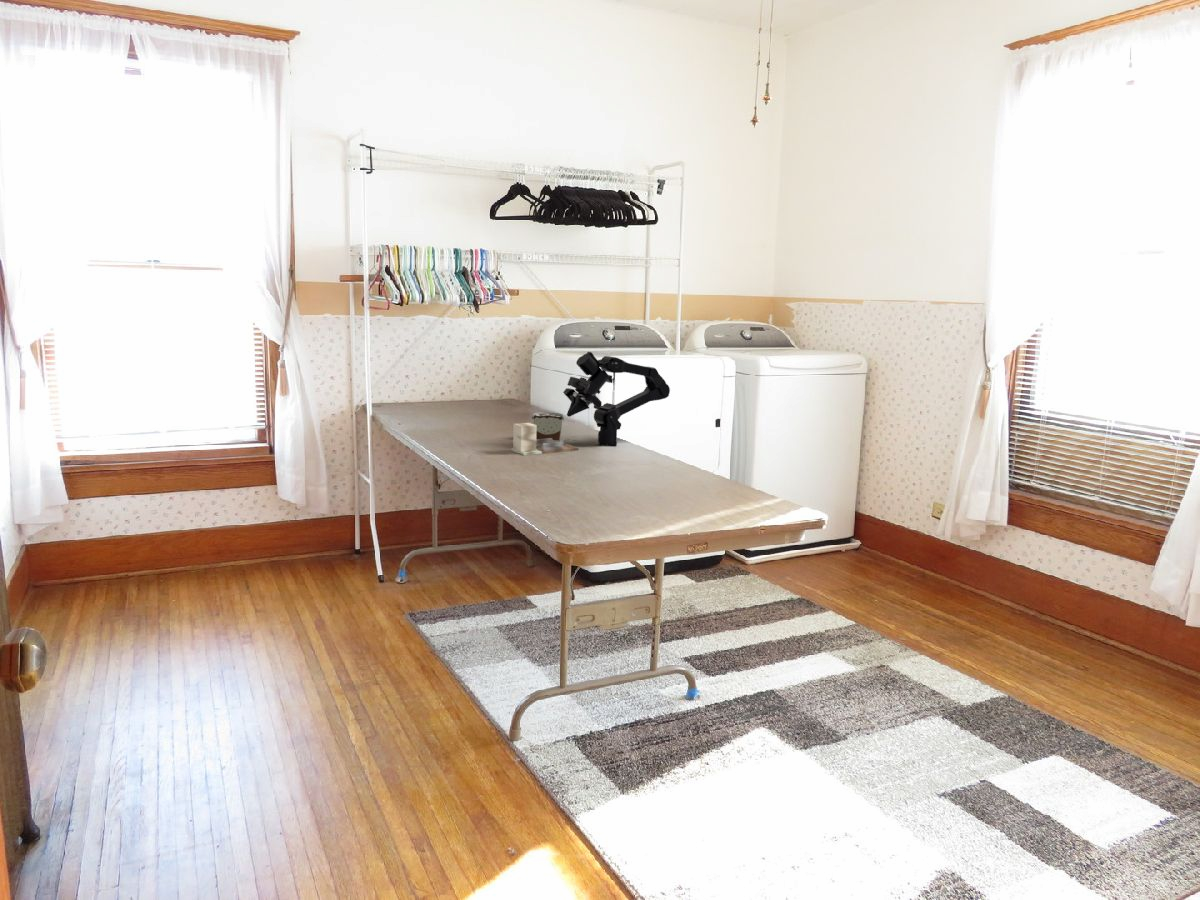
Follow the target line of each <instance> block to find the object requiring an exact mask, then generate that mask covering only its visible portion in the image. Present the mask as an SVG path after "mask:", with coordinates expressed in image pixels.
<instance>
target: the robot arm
mask: <svg viewBox="0 0 1200 900" xmlns="http://www.w3.org/2000/svg"><path fill="white" fill-rule="evenodd" d="M575 363H576V365H577V366H578V367H579V368H580V370H581V371H582V372H583V373H584V374H585V375H586V376H589V377H588V378H585V377H579V378H578V377H574V376H570V377H569V379H568V381H567V386H568V387H569V386H570V387H573V388H575V389H573V388H566V387H565V389H564V391H563V392H562V393H563V394H564V395H565V396H566V397H567V399H568V400H569V401H570V405H569V408H568V411H567V412H566V416H567V417H573V416H574V415H576V414H578V413H580V412H583V411H585V410H588V409H590V405H591V404H592V405H593V409H595V410H594V414H593V420H594V421H595V424H596V426H597V427H598V428H599V430H598V434H597V443H598V445H599V446H607V447H609V446H610V447H611V446H612V447H613V446H614V447H617V445H618V440H617V439H618V436H617V434H618V430H621V427H622V422H621V421H619V419H620V418H621V416H623V415H625V414H627V413H630V412H631V411H633V410H635V409H638V408H640V407H641V406H643V405H645V404H647V403H650V402H655V401H661V400H664V399H667V398H668V397H669V396H670V394H671V393H670V392H671V389H670V386H669V385H668V384H667V382H666V380H665V379H664V378H663V377H662V376H661V375H660V374H659V372H658V370H657V369H656V368H655V367H652V366H646V365H645V366H644V365H639V364H635V363H629V362H627V361H625V360H623V359H621V358H619V357H616V356H615V357H614V356H609V355H604V356H603V357H602V358H601V359H597V357H596V356H595V355H594V353H593V352H591V351H587V352H586V353H584V354H583V355H581V356H580V357H578V358H577V360H576V362H575ZM608 373H611V374H612V373H613V374H617V373H618V374H621V373H627V374H631V375H632V374H633V375H638V376H642V377H644V381H645V385H646V387H645V388H644V389H643V391H641V392H639V393H637V394H634V395H633V396H631V397H629V398H627V399H625V400H623V401H620V402H618V403H617V404H613V403H608V402H606V403H604V404H603V405H602V401H601V400H600V398H599V396H598V395H599V394H601V389H602V387H603V386H604V385H605V384H606V383H610V384H613V375H611V374H608ZM597 394H598V395H597Z"/></svg>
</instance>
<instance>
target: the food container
mask: <svg viewBox="0 0 1200 900" xmlns="http://www.w3.org/2000/svg"><path fill="white" fill-rule="evenodd" d="M531 420H533V424H534V425H537V432H536V439H547V438H552V439H553V442H561V436H562V428H563V427H562V425H563V421H565V417H564V415H563V413H559V412H554V411H553V412H550V411H549V412H548V411H547V412H546V411H544V412H543V411H542V412H534V413H533V414H532V416H531Z"/></svg>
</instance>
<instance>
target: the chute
mask: <svg viewBox="0 0 1200 900" xmlns="http://www.w3.org/2000/svg"><path fill="white" fill-rule="evenodd" d="M510 451H512V452H514V453H518V454H519V455H522V456H530V455H531V456H532V455H542V454H551V453H552V454H553V453H562V452H572V451H574V452H575V451H579V447H576V446H573V445H570V444H567V443H565V442H564V441H553V439H552V438H547V439H536V451H525V452H520V451H517V450H515V449H513V447H511V449H510Z"/></svg>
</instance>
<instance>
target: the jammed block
mask: <svg viewBox="0 0 1200 900" xmlns="http://www.w3.org/2000/svg"><path fill="white" fill-rule="evenodd" d="M512 427H513V429H512V430H513V432H512V433H513V435H512V437H513V438H512V439H513V441H512V446H513V447H512V448H513V449H515V450H517V451H520V452H525V451H536V432H537V425H534V423H531V422H520V423H519V422H518V423H512Z"/></svg>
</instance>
